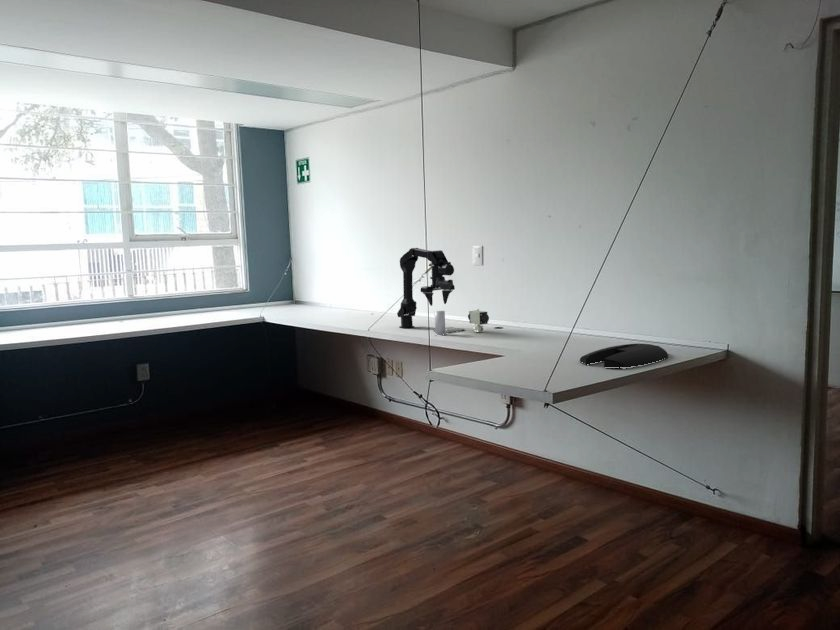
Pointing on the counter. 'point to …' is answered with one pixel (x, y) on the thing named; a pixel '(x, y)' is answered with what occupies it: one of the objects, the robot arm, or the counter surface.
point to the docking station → (626, 355)
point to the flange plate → (452, 329)
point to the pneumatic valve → (478, 319)
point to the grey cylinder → (440, 322)
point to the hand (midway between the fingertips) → (438, 304)
